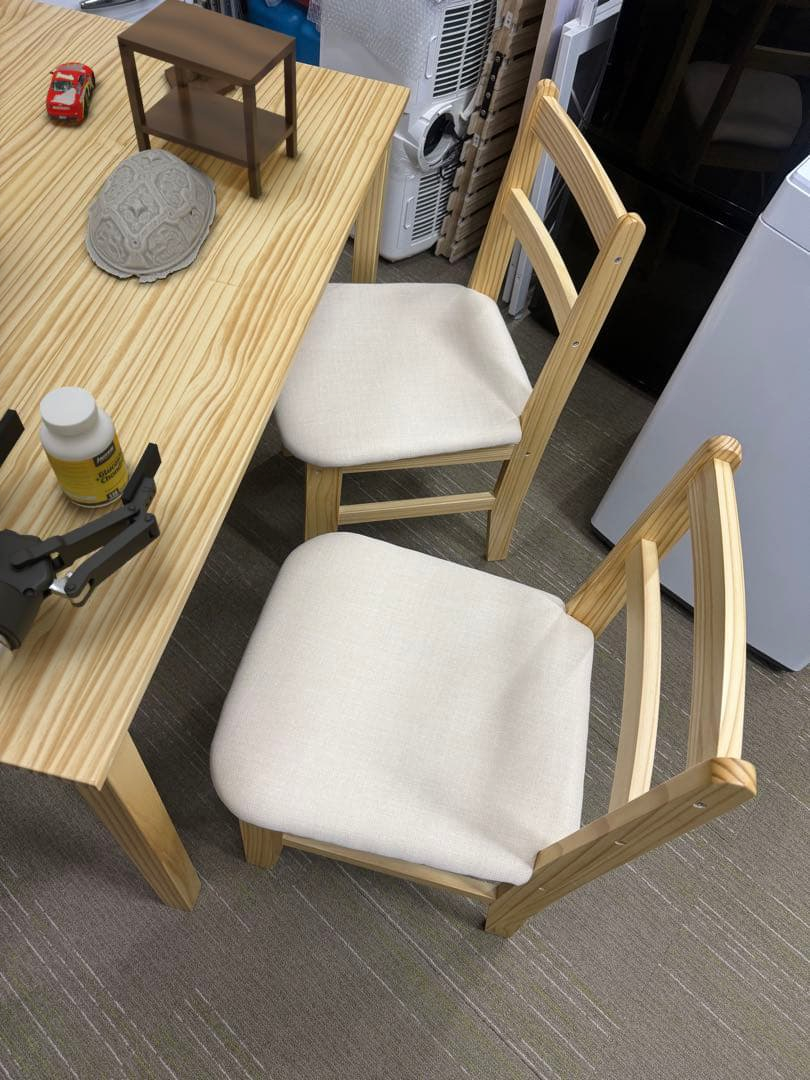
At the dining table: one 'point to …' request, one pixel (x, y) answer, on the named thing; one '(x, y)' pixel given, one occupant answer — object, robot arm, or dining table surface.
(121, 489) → the pill bottle
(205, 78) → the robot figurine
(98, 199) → the grey domed shell
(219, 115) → the rack
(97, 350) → the dining table surface
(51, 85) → the race car
